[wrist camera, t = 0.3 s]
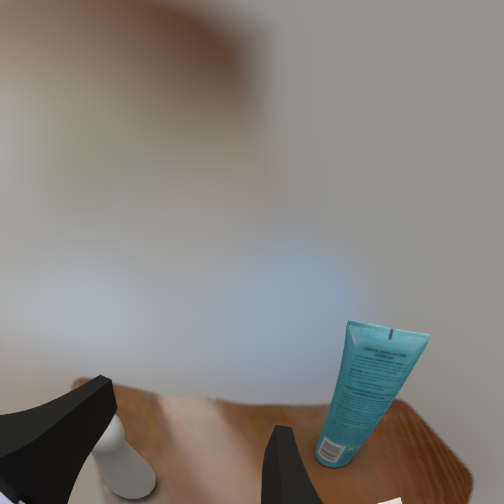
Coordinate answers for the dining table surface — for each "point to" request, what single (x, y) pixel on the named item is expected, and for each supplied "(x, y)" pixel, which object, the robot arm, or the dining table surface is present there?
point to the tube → (366, 386)
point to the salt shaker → (122, 464)
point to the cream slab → (393, 501)
